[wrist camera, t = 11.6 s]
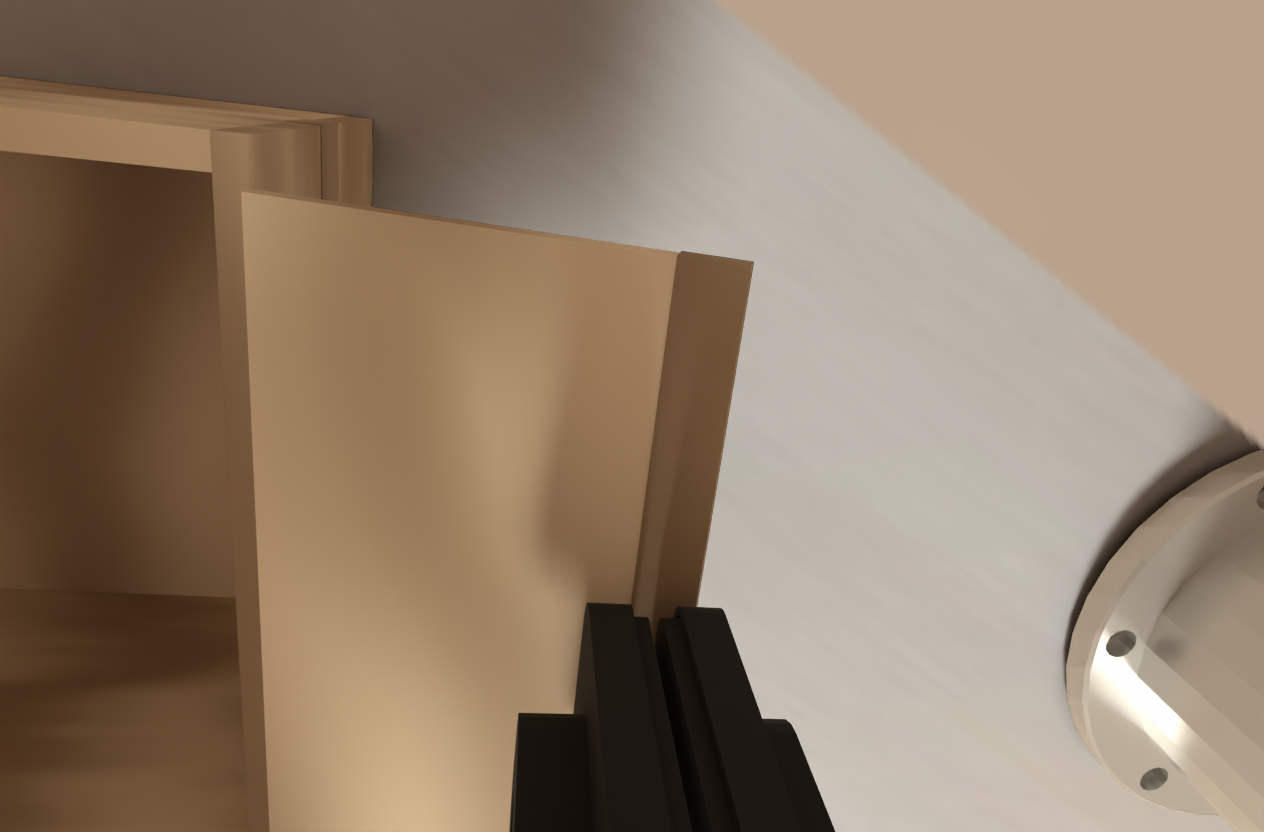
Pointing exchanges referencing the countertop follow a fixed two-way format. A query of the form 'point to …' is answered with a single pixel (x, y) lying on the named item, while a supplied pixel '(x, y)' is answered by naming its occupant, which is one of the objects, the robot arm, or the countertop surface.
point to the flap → (462, 488)
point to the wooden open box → (136, 450)
